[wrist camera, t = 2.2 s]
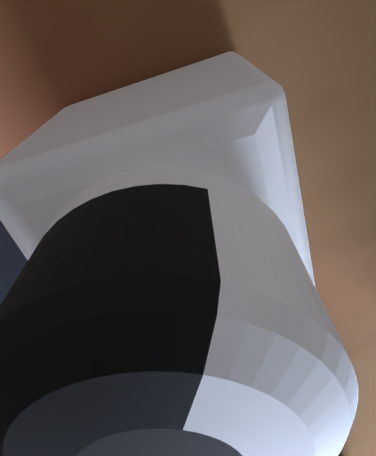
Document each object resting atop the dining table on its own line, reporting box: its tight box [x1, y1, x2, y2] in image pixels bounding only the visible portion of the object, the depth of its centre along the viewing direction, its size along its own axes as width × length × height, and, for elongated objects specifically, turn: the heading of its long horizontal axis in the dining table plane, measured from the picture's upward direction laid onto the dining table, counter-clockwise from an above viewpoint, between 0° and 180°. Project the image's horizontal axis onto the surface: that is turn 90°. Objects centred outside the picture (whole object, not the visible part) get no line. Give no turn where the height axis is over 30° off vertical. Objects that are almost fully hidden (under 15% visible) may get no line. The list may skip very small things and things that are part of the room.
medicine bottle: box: [0, 51, 358, 456], centre depth 10 cm, size 7×7×12 cm
